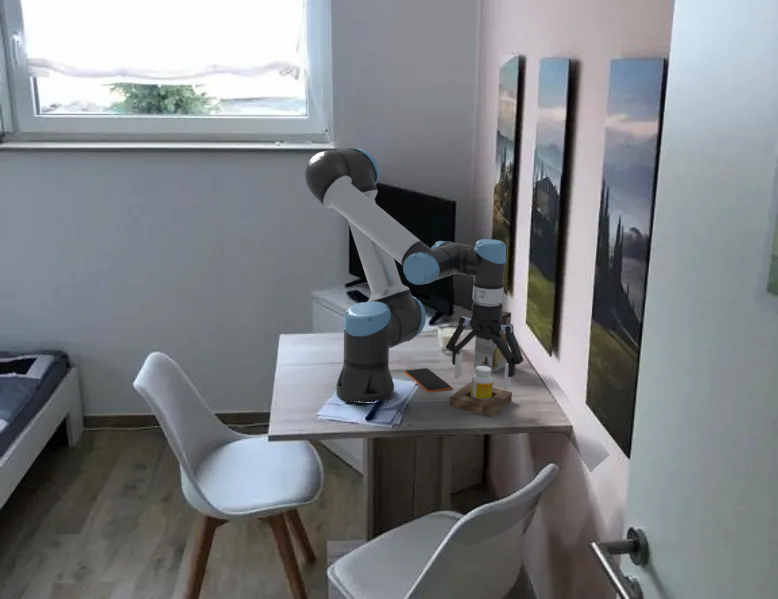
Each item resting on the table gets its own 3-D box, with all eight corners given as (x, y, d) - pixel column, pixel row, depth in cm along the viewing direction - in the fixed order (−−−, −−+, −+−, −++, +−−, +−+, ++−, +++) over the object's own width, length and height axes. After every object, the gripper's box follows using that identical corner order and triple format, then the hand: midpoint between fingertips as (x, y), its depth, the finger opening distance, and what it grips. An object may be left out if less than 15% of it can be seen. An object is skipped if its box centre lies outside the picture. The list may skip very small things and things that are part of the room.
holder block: (449, 405, 215) (449, 396, 214) (469, 391, 225) (469, 382, 224) (492, 416, 209) (493, 407, 208) (511, 401, 219) (512, 392, 218)
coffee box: (489, 360, 249) (492, 308, 245) (508, 365, 245) (512, 312, 241) (472, 368, 242) (476, 314, 238) (492, 373, 238) (495, 319, 234)
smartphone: (427, 370, 241) (427, 367, 240) (453, 390, 226) (453, 387, 225) (402, 372, 238) (403, 369, 237) (427, 394, 223) (427, 391, 223)
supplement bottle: (465, 402, 217) (468, 367, 214) (480, 398, 220) (482, 363, 218) (480, 409, 213) (483, 373, 210) (495, 404, 216) (498, 369, 214)
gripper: (435, 297, 212) (431, 376, 218) (529, 314, 200) (522, 397, 206) (449, 291, 219) (444, 368, 224) (540, 307, 207) (533, 388, 212)
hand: (482, 382), depth 215 cm, fingers open, 13 cm apart
